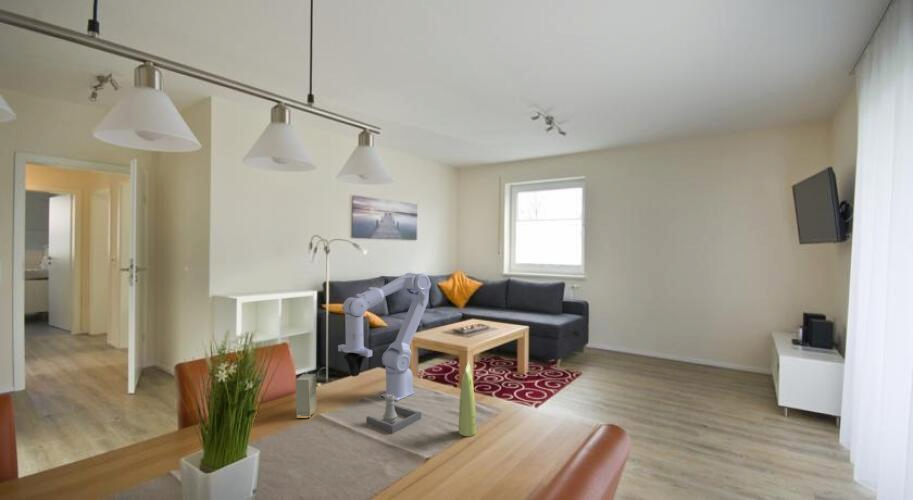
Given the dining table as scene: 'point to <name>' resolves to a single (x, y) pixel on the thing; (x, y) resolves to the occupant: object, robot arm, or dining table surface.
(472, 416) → the light green tall cone
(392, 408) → the rook chess piece
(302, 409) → the skincare box
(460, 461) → the dining table surface
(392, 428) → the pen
